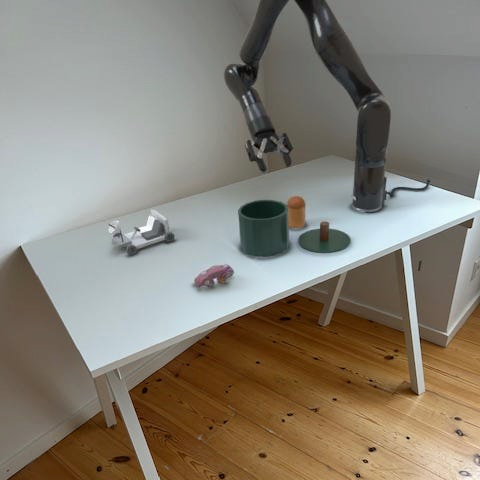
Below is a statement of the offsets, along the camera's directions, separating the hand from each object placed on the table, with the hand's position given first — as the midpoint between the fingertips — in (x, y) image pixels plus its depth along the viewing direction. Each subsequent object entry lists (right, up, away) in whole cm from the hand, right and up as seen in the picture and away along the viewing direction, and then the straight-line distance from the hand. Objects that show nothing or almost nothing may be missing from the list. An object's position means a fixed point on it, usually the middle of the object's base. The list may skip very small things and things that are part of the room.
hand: (277, 168), depth 149 cm
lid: (+13, -24, -11) cm, 29 cm away
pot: (-4, -26, -10) cm, 28 cm away
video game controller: (-18, -38, -24) cm, 48 cm away
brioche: (+6, -18, 0) cm, 19 cm away
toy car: (-42, -23, -2) cm, 48 cm away
